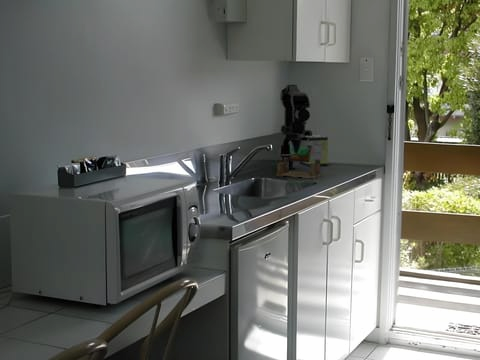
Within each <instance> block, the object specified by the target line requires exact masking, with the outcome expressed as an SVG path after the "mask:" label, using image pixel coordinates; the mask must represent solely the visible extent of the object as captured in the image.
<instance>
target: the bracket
mask: <svg viewBox="0 0 480 360" xmlns="http://www.w3.org/2000/svg"><path fill="white" fill-rule="evenodd" d="M276 168H277V169H276V174H275V175H276V177H283V176H291V177H290V178H297V177H302V178H301V179H310V178H313V179H316V178H319V177H321V176H322V173H321V166H320V159H315V164H313V165H310V166H309V167H308V172H301V171H299V172H298V171H290V169H289V158H287V157H285V158H284V162H282V161H281V162H279V163H277V167H276Z"/></svg>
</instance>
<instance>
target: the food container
mask: <svg viewBox="0 0 480 360" xmlns="http://www.w3.org/2000/svg"><path fill="white" fill-rule="evenodd" d="M289 145H290V154H289V155H290V161H293V162H299V163H300V162H309V159H310V154H311V148H312V146H313V143H312V141H303V140H301V143H300V146H299V150H298V153H295V151H294V148H293V144H292V142H291V141H289Z"/></svg>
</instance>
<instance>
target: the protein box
mask: <svg viewBox="0 0 480 360" xmlns="http://www.w3.org/2000/svg"><path fill="white" fill-rule="evenodd" d="M307 137H310V138H309V139H308V141H312V143H313V146H312V148H311V154H310V159H309V162H299V164H300V165H304V166H306V167H308V168H309V166H310V165H313V164H315V159H320V167H328V150H329V149H328V143H329V141H328V138H329V137H328V136H323V135H319V134H312V136H307Z"/></svg>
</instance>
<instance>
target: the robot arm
mask: <svg viewBox="0 0 480 360" xmlns="http://www.w3.org/2000/svg"><path fill="white" fill-rule="evenodd" d="M279 98H280V103H281V105H282V106H283V109H284V110H283V111H284V113H283V114H284V115H283V117H284V119H283V121H284V123H283V125H281V126H280V132H281V133H282V135H283V136H284V137H283V138H282V140H281V141H280V145H279V148H278V157H279V158H281V163H282V162H284V158H285V157H287V158H289V170H293V169H296V166H294V161H290V145H289V141H291V142H292V144H293V148H294V151H295V153H298V150H299V146H300V143H301V140H303V141H308V139H309V138H310V137H307V136H312V135H313V131H312V130H311V129H306V125H307V124H308V123H307V121H308V120H309V119H310V116H311V114H310V111H309V110H308V109H309V108H310V107H311V106H310V104H311V103H310V99H309V96H308V94H307V93H306V92H304V91H303V92H302V91H301V90H299V88H298V85H297V84H286V87H284V88H283V89H281V91H280V94H279Z"/></svg>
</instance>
